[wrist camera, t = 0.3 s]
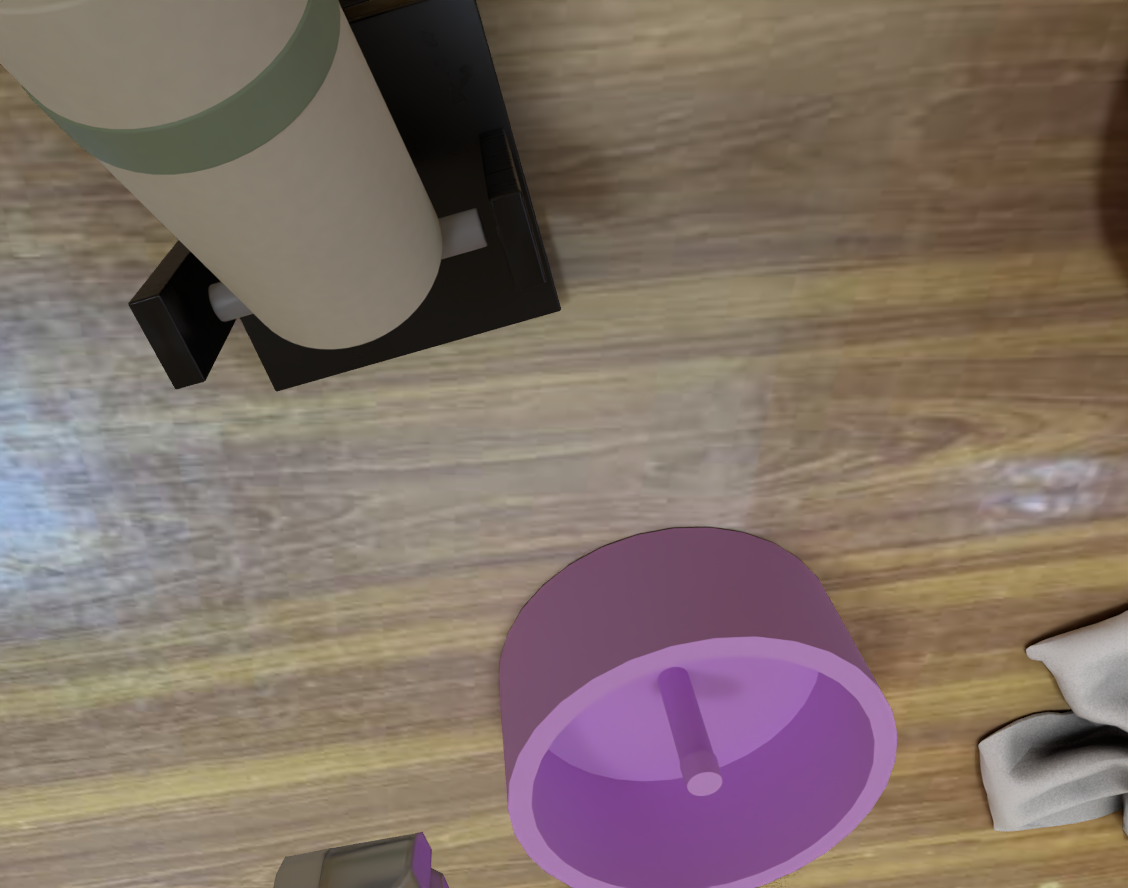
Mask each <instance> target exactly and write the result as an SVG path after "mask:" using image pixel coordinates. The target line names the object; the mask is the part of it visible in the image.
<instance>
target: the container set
mask: <svg viewBox="0 0 1128 888" xmlns="http://www.w3.org/2000/svg"><path fill="white" fill-rule="evenodd" d="M499 692H500V705H501V719H502V733H503V746H504V760H505V774H506V788H507V801H508V811H509V815H510V819H511V822H512V826H513V830H514V833H515V835H516V837H517V838H518V840H519V842H520V843H521V845H522V846H523V848H524V850H525V851H526V853H527V854H528V856H529V857H530V858H532V859H533V860H534V861H535V862H536V863H537V864H538V865H539V866H540V867H541V868H542V869H543V870H545V871H546V872H547V873H548V874H550V875H552V876H553V877H555V878H557V879H558V880H560V881H562V882H564V883H565V884H567V885H569V886H571V887H573V888H756V887H759V886H762V885H765V884H767V883H770V882H772V881H774V880H776V879H778V878H781V877H783V876H785V875H787V874H790V873H792V872H794V871H796V870H798V869H800V868H801V867H803V866H805V865H806V864H808V863H810V862H811V861H813V860H815V859H816V858H818V857H820V856H821V855H823V854H825V853H826V852H827V851H828V850H830V849H831V848H832V847H833V846H835V845H836V844H837V843H838V842H840V841H841V840H842V839H843V838H845V837H846V836H847V835H848V834H850V833H851V832H852V831H853V830H854V828H855V827H856V826H857V825H858V824H859V823H860V822H861V821H862V820H863V819H864V818H865V816H866V815H867V814H868V813H869V812H870V811H871V810H872V808H873V806H874V805H875V803H876V802H877V800H878V799H879V797H880V795H881V794H882V792H883V791H884V789H885V787H886V786H887V783H888V780H889V777H890V774H891V772H892V769H893V766H894V763H895V759H896V747H897V731H896V726H895V721H894V717H893V712H892V709H891V708H890V706H889V704H888V702H887V700H886V699H885V697H884V695H883V693H882V691H881V690H880V688H879V686H878V684H877V682H876V681H875V679H874V677H873V675H872V674H871V672H870V670H869V668H868V666H867V665H866V663H865V661H864V659H863V657H862V656H861V654H860V652H859V650H858V648H857V647H856V645H855V643H854V641H853V640H852V638H851V636H850V634H849V632H848V631H847V629H846V627H845V625H844V623H843V622H842V620H841V618H840V616H839V614H838V613H837V611H836V609H835V607H834V605H833V604H832V602H831V600H830V598H829V597H828V595H827V593H826V591H825V590H824V588H823V586H822V584H821V583H820V581H819V579H818V577H817V576H816V575H815V574H814V573H813V572H812V571H811V570H810V569H809V568H808V567H807V566H806V565H805V564H804V563H803V562H802V561H801V560H800V559H799V558H797V557H796V556H794V555H792V554H791V553H789V552H787V551H786V550H784V549H782V548H781V547H779V546H778V545H776V544H774V543H772V542H769V541H766V540H763V539H760V538H758V537H755V536H752V535H749V534H746V533H743V532H736V531H730V530H723V529H716V528H672V529H667V530H662V531H656V532H651V533H645V534H640V535H636V536H633V537H630V538H627V539H624V540H621V541H618V542H616V543H613V544H610V545H607V546H604V547H602V548H600V549H598V550H596V551H594V552H592V553H590V554H589V555H587V556H585V557H583V558H581V559H579V560H577V561H576V562H574V563H572V564H570V565H569V566H567V567H566V568H565V569H564V570H562V571H561V572H560V573H558V574H557V575H556V576H555V577H553V578H552V579H551V580H550V581H548V582H547V583H546V584H544V585H543V586H542V587H541V588H540V590H539V591H538V592H537V593H536V594H535V595H534V596H533V597H532V599H531V600H530V601H529V602H528V603H527V604H526V605H525V606H524V608H523V609H522V610H521V612H520V614H519V615H518V617H517V619H516V621H515V622H514V624H513V626H512V628H511V629H510V631H509V633H508V635H507V638H506V641H505V645H504V648H503V651H502V655H501V658H500V670H499Z"/></svg>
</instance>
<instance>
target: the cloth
mask: <svg viewBox="0 0 1128 888" xmlns="http://www.w3.org/2000/svg"><path fill="white" fill-rule="evenodd" d="M1026 653H1027V656H1028V657H1029V658H1030V659H1033V660H1038V661H1042V662H1043V663H1044V664H1045V665H1046V667H1047V668H1048V669H1049V670H1050V671H1051V673H1052V674H1053V675H1054V677H1055V679H1056V681H1057V684H1058V686H1059V688H1060V690H1061V692H1062V695H1063V697H1064V699H1065V701H1066V702H1067V704H1068V705H1069V707H1070V708H1071V709H1072V711H1070V712H1066V713H1054V712H1045V713H1039V714H1033V715H1031V716H1028V717H1025V718H1022V719H1019V720H1017V721H1015V722H1013V723H1011V724H1009V725H1007V726H1006V727H1004V728H1002V729H1000V730H998V731H996V732H995V733H993V734H992V735H990V736H988V737H987V738H985V739H984V740H982V741H981V742H980V744H979V745H978V747H979V751H980V768H981V774H982V779H983V784H984V787H985V790H986V792H987V799H988V803H989V808H990V811H991V814H992V818H993V822H994V830H997V831H1018V830H1026V829H1035V828H1043V827H1051V826H1058V825H1065V824H1072V823H1078V822H1082V821H1087V820H1092V819H1096V818H1099V817H1102V816H1105V815H1108V814H1111V813H1113V812H1116V811H1118V810H1121V809H1123V820H1124V823H1123V826H1122V828H1123V829H1124V831H1125V833H1126V834H1127V836H1128V610H1127V611H1125V612H1124V613H1122V614H1120V615H1117V616H1115V617H1112V618H1109V619H1107V620H1104V621H1101V622H1099V623H1096V624H1092V625H1089V626H1086V627H1082V628H1079V629H1076V630H1073V631H1070V632H1066V633H1063V634H1060V635H1057V636H1054V637H1051V638H1048V639H1045V640H1043V641H1041V642H1038V643H1036V644H1034V645H1032V646H1030V647H1029V648H1028V649H1027V648H1026Z"/></svg>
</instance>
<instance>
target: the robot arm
mask: <svg viewBox="0 0 1128 888" xmlns="http://www.w3.org/2000/svg"><path fill="white" fill-rule="evenodd" d="M431 854H432V849H431V847H430V846H429V844H428V842H427V840H426V838H425V836H424V834H423V832H420V833H414V834H409V835H403V836H398V837H392V838H386V839H381V840H375V841H370V842H364V843H359V844H353V845H347V846H342V847H336V848H329V849H324V850H319V851H314V852H309V853H303V854H298V855H293V856H288V857H285V859H284V860H283V862H282V864H281V866H280V868H279V870H278V872H277V874H276V877H275V882H274V887H273V888H449V887H448V884H447V882H446V880H445V878H444V875H443V874H442V873H440V872H438V871H436V870H434V869H432V868H431Z"/></svg>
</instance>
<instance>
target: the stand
mask: <svg viewBox="0 0 1128 888" xmlns="http://www.w3.org/2000/svg"><path fill="white" fill-rule="evenodd" d="M367 1H369V0H339V4H340V6H341V8H342V9H343V8H346V7H350V6H353V5H356V4H360V3H363V2H367ZM347 21H348V23H349V25H350V28H351V30H352V32H353V34H354V36H355V38H356V41H357V43H358V45H359V47H360V49H361V51H362V54H363V56H364V58H365V60H366V62H367V64H368V67H369V69H370V71H371V73H372V75H373V77H374V80H375V82H376V84H377V86H378V88H379V90H380V93H381V95H382V97H383V99H384V101H385V103H386V106H387V108H388V110H389V112H390V114H391V116H392V119H393V121H394V123H395V125H396V127H397V130H398V132H399V134H400V136H401V138H402V140H403V143H404V145H405V147H406V149H407V151H408V153H409V156H410V158H411V160H412V162H413V164H414V166H415V169H416V171H417V173H418V175H419V177H420V179H421V182H422V184H423V186H424V188H425V190H426V192H427V195H428V197H429V199H430V201H431V203H432V205H433V208H434V210H435V212H436V214H437V217H438V219H439V218H442V217H446V216H449V215H453V214H456V213H459V212H463V211H466V210H470V209H473V208H477V209H478V211H479V213H480V216H481V219H482V222H483V225H484V229H485V232H486V236H487V240H488V245H487V246H486V247H483V248H479V249H476V250H472V251H469V252H466V253H462V254H459V255H455V256H452V257H448V258H445V259H441V262H440V266H439V270H438V273H437V276H436V278H435V281H434V283H433V285H432V287H431V289H430V291H429V293H428V294H427V296H426V298H425V299H424V300H423V302H422V303H421V304H420V306H419V307H418V308H417V309H416V310H415V311H414V312H413V313H412V314H411V316H410V317H409V318H408V319H406V320H405V321H404V322H403V323H401V324H400V325H399V326H398V327H396V328H395V329H393V330H392V331H390V332H388V333H387V334H385V335H383V336H381V337H379V338H377V339H375V340H373V341H370V342H367V343H364V344H362V345H358V346H353V347H349V348H342V349H316V348H310V347H305V346H301V345H298V344H295V343H292V342H290V341H288V340H286V339H284V338H282V337H280V336H279V335H277V334H276V333H274V332H273V331H271V330H270V329H269V328H268V327H267V326H266V325H265V324H264V323H263V322H262V321H261V320H260V319H259V318H258V317H257V316H256V315H254V314H250V315H247V316H243V317H240V319H241V321H242V323H243V325H244V327H245V329H246V331H247V333H248V335H249V337H250V339H251V341H252V344H253V346H254V348H255V350H256V352H257V354H258V356H259V358H260V360H261V362H262V364H263V366H264V368H265V370H266V372H267V374H268V376H269V378H270V380H271V382H272V385H273V387H274V389H275V390H276V391H280V390H284V389H287V388H291V387H294V386H298V385H301V384H305V383H308V382H312V381H315V380H319V379H322V378H326V377H329V376H333V375H336V374H340V373H343V372H347V371H350V370H354V369H357V368H361V367H364V366H368V365H371V364H375V363H378V362H382V361H385V360H389V359H392V358H396V357H399V356H403V355H406V354H410V353H413V352H417V351H420V350H424V349H427V348H431V347H434V346H438V345H442V344H445V343H449V342H452V341H456V340H459V339H463V338H466V337H470V336H473V335H477V334H480V333H484V332H487V331H491V330H494V329H498V328H501V327H505V326H508V325H512V324H515V323H519V322H522V321H526V320H529V319H533V318H536V317H540V316H543V315H547V314H550V313H554V312H557V311H560V310H561V307H560V303H559V300H558V296H557V292H556V289H555V285H554V281H553V278H552V274H551V271H550V267H549V263H548V260H547V256H546V253H545V249H544V245H543V242H542V238H541V234H540V231H539V227H538V224H537V220H536V216H535V213H534V209H533V206H532V202H531V198H530V195H529V191H528V187H527V184H526V180H525V177H524V173H523V169H522V166H521V162H520V158H519V155H518V151H517V148H516V144H515V140H514V137H513V133H512V130H511V126H510V122H509V119H508V115H507V111H506V108H505V104H504V101H503V97H502V93H501V90H500V86H499V83H498V79H497V75H496V72H495V68H494V64H493V61H492V57H491V54H490V50H489V46H488V43H487V39H486V36H485V32H484V28H483V25H482V21H481V17H480V14H479V10H478V7H477V3H476V0H413V1H410V2H407V3H403V4H400V5H397V6H393V7H390V8H387V9H383V10H380V11H376V12H373V13H370V14H366V15H363V16H360V17H356V18H353V19H350V20H347ZM218 282H221V281H220V280H219V279H218V278H217V277H216V276H215V275H214V274H213V273H212V272H211V271H210V270H209V269H208V268H207V267H206V266H205V265H204V264H203V263H202V262H201V261H200V260H199V259H198V258H197V257H196V256H195V255H194V254H193V253H192V252H191V251H190V250H189V249H188V248H187V247H186V246H185V245H184V244H183V243H181V242H180V241H179V240H178V241H177V243H176V244H175V245H174V247H173V248H172V249H171V250H170V252H169V253H168V254H167V255H166V257H165V258H164V259H163V260H162V262H161V263H160V264H159V265H158V267H157V268H156V269H155V270H154V272H153V273H152V274H151V276H150V277H149V278H148V279H147V281H146V282H145V283H144V284H143V286H142V287H141V288H140V289H139V291H138V292H137V293H136V294H135V296H134V297H133V298H132V300H131V301H130V302H129V307H130V308H131V310H132V312H133V314H134V316H135V317H136V319H137V321H138V323H139V325H140V326H141V328H142V330H143V332H144V334H145V335H146V337H147V339H148V341H149V343H150V344H151V346H152V348H153V350H154V352H155V353H156V355H157V357H158V359H159V361H160V362H161V364H162V366H163V368H164V370H165V371H166V373H167V375H168V377H169V379H170V380H171V382H172V384H173V386H174V388H175V389H180V388H183V387H187V386H190V385H194V384H197V383H201V382H204V381H206V379H207V377H208V375H209V373H210V371H211V369H212V367H213V365H214V363H215V361H216V359H217V357H218V355H219V353H220V351H221V349H222V347H223V345H224V343H225V341H226V339H227V337H228V335H229V333H230V331H231V329H232V327H233V325H234V323H235V321H236V319H237V318H236V319H233V320H229V321H221V320H220V319H219V318H218V317H217V315H216V314H215V312H214V310H213V308H212V306H211V303H210V300H209V294H208V289H209V286H210V285H211V284H214V283H218Z"/></svg>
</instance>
